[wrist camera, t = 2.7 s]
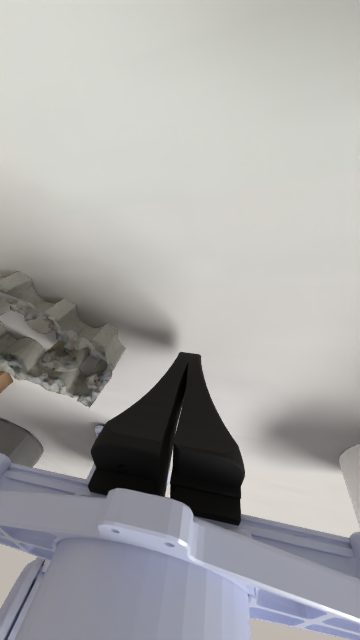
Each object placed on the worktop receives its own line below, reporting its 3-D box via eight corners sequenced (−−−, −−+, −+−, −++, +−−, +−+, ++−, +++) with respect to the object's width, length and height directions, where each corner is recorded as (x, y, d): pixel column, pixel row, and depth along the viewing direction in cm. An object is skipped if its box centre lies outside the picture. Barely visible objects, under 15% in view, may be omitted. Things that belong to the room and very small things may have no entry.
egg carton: (-9, 322, 18) (-63, 353, 15) (6, 250, 15) (-62, 269, 11) (101, 387, 20) (75, 428, 17) (140, 338, 16) (117, 378, 13)
